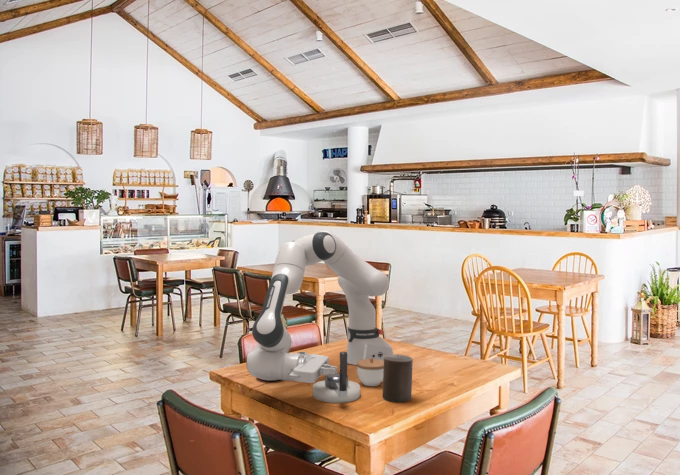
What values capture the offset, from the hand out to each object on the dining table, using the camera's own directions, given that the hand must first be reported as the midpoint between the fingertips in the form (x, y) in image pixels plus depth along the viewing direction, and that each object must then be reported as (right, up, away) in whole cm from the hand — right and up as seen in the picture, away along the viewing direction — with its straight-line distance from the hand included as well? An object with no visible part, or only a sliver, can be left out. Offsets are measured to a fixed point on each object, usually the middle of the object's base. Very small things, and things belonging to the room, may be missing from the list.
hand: (336, 370), depth 185 cm
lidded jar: (+12, -11, +25) cm, 30 cm away
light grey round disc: (0, -11, +12) cm, 16 cm away
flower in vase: (-24, -10, +30) cm, 40 cm away
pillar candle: (+20, -12, +10) cm, 26 cm away
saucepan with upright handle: (+1, -8, +7) cm, 11 cm away
